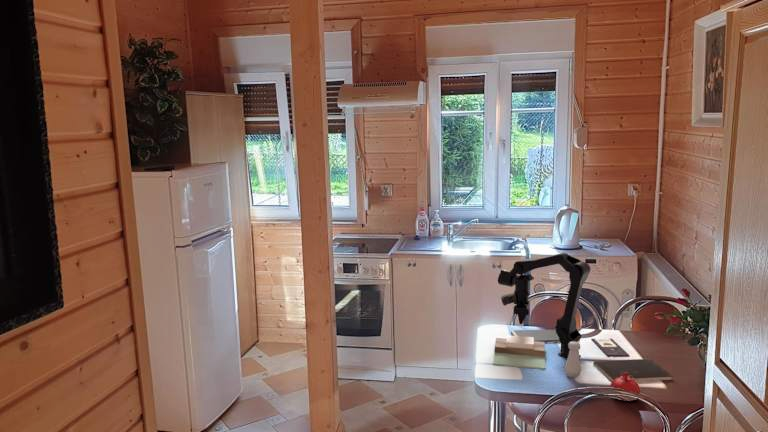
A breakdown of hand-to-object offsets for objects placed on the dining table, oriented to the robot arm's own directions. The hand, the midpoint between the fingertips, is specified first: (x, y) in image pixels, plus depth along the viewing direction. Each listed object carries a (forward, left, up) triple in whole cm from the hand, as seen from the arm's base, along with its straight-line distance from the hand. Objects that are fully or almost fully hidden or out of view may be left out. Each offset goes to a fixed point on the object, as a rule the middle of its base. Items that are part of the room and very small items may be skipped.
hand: (520, 323), depth 254 cm
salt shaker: (-34, +7, -9) cm, 36 cm away
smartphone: (-1, -13, -9) cm, 16 cm away
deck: (-7, +7, -8) cm, 13 cm away
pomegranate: (-56, +6, -9) cm, 57 cm away
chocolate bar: (-24, -27, -9) cm, 38 cm away
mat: (-14, +14, -8) cm, 22 cm away
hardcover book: (-44, -14, -9) cm, 48 cm away
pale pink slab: (-7, +7, -5) cm, 11 cm away
